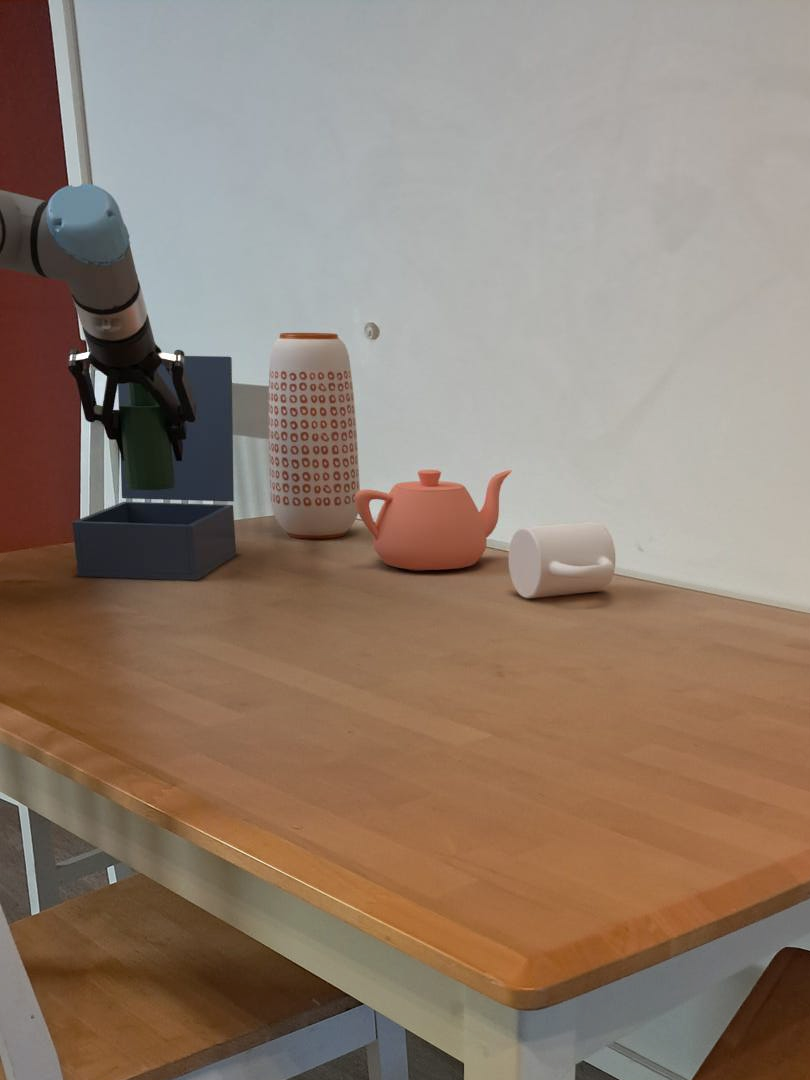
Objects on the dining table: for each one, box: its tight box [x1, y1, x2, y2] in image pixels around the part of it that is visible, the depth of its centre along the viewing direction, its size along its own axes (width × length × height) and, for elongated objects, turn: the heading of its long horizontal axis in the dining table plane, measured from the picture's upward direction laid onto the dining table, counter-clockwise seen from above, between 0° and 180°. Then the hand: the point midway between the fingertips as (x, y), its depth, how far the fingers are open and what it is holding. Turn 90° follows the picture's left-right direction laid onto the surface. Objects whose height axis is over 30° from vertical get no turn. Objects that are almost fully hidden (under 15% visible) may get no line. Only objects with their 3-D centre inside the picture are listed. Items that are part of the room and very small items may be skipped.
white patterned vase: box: [268, 332, 361, 540], centre depth 187 cm, size 13×13×28 cm
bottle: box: [118, 383, 175, 490], centre depth 162 cm, size 6×6×13 cm
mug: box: [508, 521, 616, 599], centre depth 153 cm, size 12×10×8 cm
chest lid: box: [117, 355, 235, 502], centre depth 175 cm, size 19×16×7 cm
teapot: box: [354, 469, 513, 572], centre depth 170 cm, size 22×15×12 cm
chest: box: [71, 501, 237, 581], centre depth 168 cm, size 18×16×7 cm
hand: (152, 452), depth 166 cm, fingers closed on bottle, 6 cm apart
